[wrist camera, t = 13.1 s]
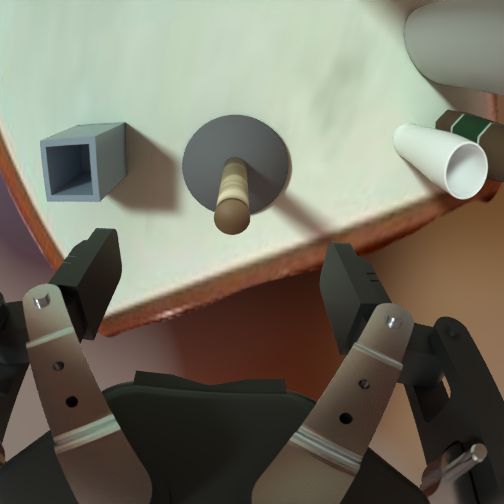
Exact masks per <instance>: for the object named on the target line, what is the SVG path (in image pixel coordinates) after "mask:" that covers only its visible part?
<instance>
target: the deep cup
mask: <svg viewBox="0 0 504 504" xmlns="http://www.w3.org/2000/svg"><path fill="white" fill-rule="evenodd" d="M40 147H41V158H42V167H43V175H44V183H45V190H46V197H47V201H71V202H100V201H101V200H102V199H103V198H104V197H105V196H106V195H107V194H108V193H109V192H110V191H111V190H112V189H113V188H114V187H115V186H116V185H117V184H118V183H119V182H120V181H121V180H122V179H123V178H124V177H126V176H127V166H126V126H125V122H122V123H103V124H88V125H77V126H75V127H72V128H69V129H67V130H64V131H62V132H60V133H57V134H55V135H52V136H50V137H48V138H45V139H43V140H41V141H40Z"/></svg>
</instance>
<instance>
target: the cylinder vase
mask: <svg viewBox="0 0 504 504" xmlns="http://www.w3.org/2000/svg"><path fill="white" fill-rule="evenodd" d="M404 39H405V45H406V48H407V51H408V54H409V56H410V58H411V60H412V62H413V63H414V65H415V66H416V67H417V69H418V70H419V71H420V72H421V73H422V74H423V75H424V76H426V77H427V78H429V79H430V80H432V81H434V82H436V83H439V84H444V85H451V86H457V87H463V88H468V89H473V90H479V91H483V92H488V93H493V94H497V95H502V96H504V0H444V1H440V2H436V3H432V4H428V5H424V6H421V7H419V8H417V9H415V10H414V11H413V12H412V13H411V14H410V15H409V17H408V19H407V21H406V24H405V30H404Z"/></svg>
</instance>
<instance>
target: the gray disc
mask: <svg viewBox="0 0 504 504" xmlns="http://www.w3.org/2000/svg"><path fill="white" fill-rule="evenodd" d="M232 157H238V158H241V159H242V160H243V161H244V162H245V163H246V166H247V182H248V199H249V211H250V214H252V213H254V212H257V211H259V210H261V209H263V208H265V207H266V206H267V205H269V204H270V203H271V202H272V201H273V200H274V199H275V198H276V197H277V196H278V195H279V193H280V192H281V190H282V188H283V186H284V184H285V181H286V178H287V174H288V158H287V153H286V150H285V147H284V145H283V143H282V141H281V140H280V138H279V137H278V135H277V134H276V133H275V132H274V131H273V130H272V129H271V128H270V127H269V126H268V125H266V124H265V123H263V122H261V121H260V120H257V119H255V118H252V117H248V116H243V115H228V116H223V117H219V118H216V119H214V120H212V121H210V122H208V123H206V124H205V125H204V126H202V127H201V128H200V129H199V130H198V131H197V132H196V133H195V134H194V135H193V137H192V138H191V139H190V141H189V143H188V145H187V147H186V149H185V152H184V156H183V164H182V168H183V176H184V180H185V183H186V185H187V187H188V189H189V191H190V193H191V194H192V195H193V197H194V198H195V199H196V200H197V201H198V202H199V203H200V204H201V205H203V206H204V207H206V208H207V209H209V210H211V211H213V212H215V209H216V206H217V201H218V195H219V190H220V184H221V179H222V174H223V169H224V164H225V162H226V161H227V160H228V159H230V158H232Z"/></svg>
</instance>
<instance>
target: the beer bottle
mask: <svg viewBox="0 0 504 504" xmlns="http://www.w3.org/2000/svg"><path fill="white" fill-rule="evenodd" d="M436 129H438V130H443V131H447V132H451V133H454V134H457V135H460V136H462V137H465V138H467V139H469V140H471V141H473V142H475V143H477V144H478V145H479V146H480V147H481V148H482V149H483V150H484V152H485V154H486V157H487V161H488V172H487V177H486V178H488V179H491V180H493V181H498V182H504V125H502V124H499V123H496V122H493V121H490V120H487V119H484V118H481V117H478V116H475V115H471V114H468V113H463V112H457V111H451V110H447V111H446V112H445V113H444V114H443V115H442V116H441V117H440V118H439V119H438V120H437V121H436Z"/></svg>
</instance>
